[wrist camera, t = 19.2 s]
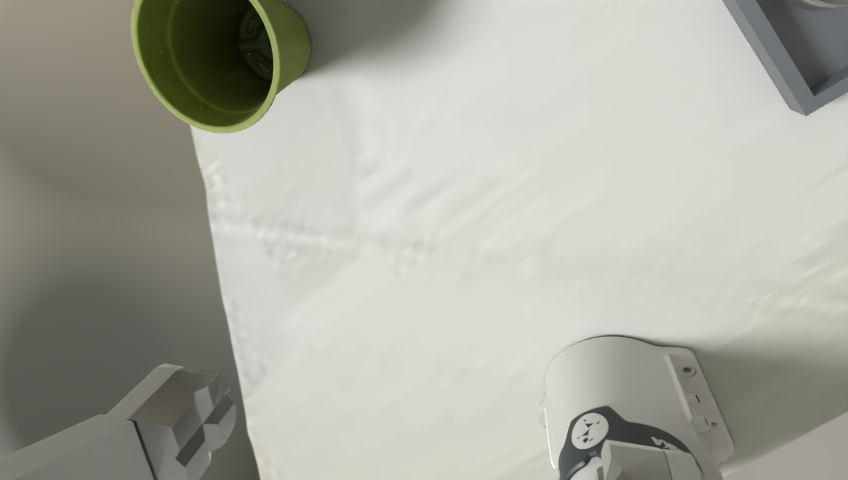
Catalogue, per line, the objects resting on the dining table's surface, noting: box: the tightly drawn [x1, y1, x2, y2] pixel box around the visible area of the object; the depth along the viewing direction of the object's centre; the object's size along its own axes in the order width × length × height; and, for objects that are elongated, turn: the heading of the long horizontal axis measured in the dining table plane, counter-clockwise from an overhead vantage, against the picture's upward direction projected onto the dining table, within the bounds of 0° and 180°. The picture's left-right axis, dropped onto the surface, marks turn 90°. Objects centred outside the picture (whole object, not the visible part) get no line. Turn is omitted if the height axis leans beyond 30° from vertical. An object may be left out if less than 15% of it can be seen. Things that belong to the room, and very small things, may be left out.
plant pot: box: [131, 0, 311, 133], centre depth 40 cm, size 12×12×11 cm
